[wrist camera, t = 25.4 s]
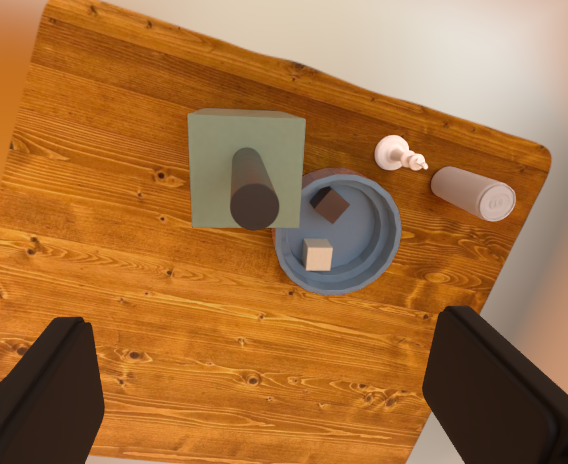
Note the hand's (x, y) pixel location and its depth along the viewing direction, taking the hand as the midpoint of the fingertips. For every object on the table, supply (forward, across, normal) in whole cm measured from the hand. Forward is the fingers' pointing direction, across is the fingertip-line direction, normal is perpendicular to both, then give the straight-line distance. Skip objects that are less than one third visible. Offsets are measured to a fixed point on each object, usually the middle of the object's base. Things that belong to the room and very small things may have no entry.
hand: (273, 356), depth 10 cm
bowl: (+42, -13, +11) cm, 46 cm away
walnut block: (+42, -12, +7) cm, 44 cm away
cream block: (+42, -11, +15) cm, 46 cm away
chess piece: (+42, -21, 0) cm, 47 cm away
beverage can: (+42, -30, +4) cm, 52 cm away
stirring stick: (+24, 0, -1) cm, 24 cm away
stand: (+42, 0, 0) cm, 42 cm away
